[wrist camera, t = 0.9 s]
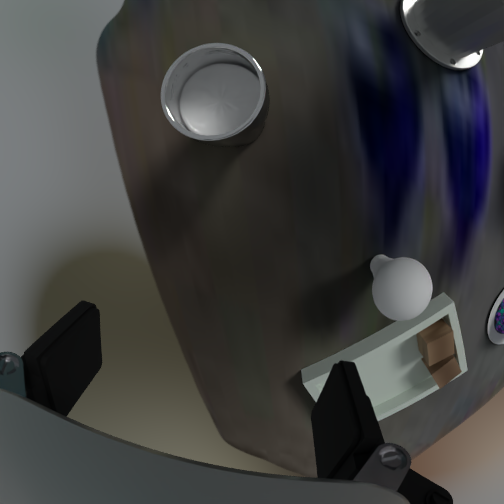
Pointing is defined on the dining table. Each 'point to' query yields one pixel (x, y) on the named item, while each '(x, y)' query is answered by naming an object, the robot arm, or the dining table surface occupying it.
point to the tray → (392, 361)
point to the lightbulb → (400, 287)
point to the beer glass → (216, 95)
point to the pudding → (502, 320)
